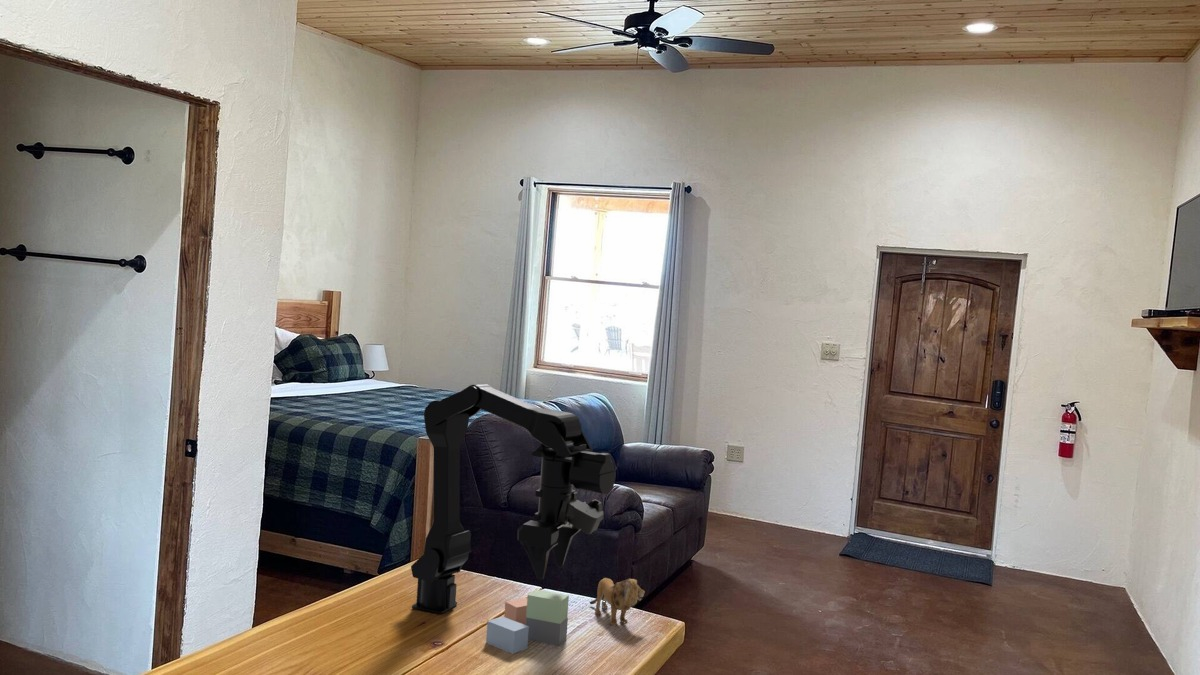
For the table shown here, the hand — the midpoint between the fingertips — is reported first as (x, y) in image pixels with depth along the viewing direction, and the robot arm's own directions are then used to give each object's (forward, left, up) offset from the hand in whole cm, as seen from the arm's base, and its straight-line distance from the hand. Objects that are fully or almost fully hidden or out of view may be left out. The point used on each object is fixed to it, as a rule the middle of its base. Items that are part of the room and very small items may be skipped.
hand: (550, 572), depth 164 cm
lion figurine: (+7, +17, -12) cm, 22 cm away
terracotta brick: (-7, +6, -12) cm, 15 cm away
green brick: (0, 0, -8) cm, 8 cm away
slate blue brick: (-5, -6, -12) cm, 14 cm away
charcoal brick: (0, 0, -12) cm, 12 cm away
